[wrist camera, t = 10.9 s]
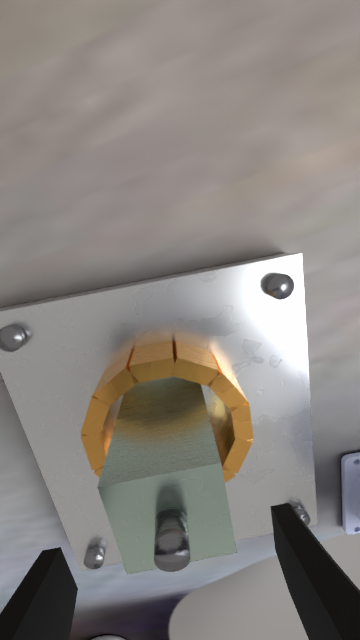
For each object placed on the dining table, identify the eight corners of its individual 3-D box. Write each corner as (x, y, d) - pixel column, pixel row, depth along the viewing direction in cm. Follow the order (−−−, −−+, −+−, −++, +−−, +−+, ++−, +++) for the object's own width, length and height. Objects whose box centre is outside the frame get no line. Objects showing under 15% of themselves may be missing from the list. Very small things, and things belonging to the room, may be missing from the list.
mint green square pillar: (197, 372, 16) (229, 493, 8) (208, 432, 17) (246, 591, 9) (126, 386, 16) (87, 521, 8) (142, 445, 17) (122, 615, 9)
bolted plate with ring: (285, 252, 16) (329, 254, 12) (304, 499, 22) (339, 562, 17) (-1, 307, 16) (-61, 329, 12) (88, 542, 22) (69, 615, 17)
